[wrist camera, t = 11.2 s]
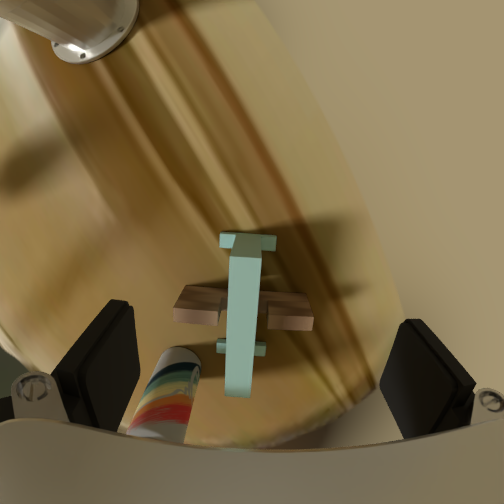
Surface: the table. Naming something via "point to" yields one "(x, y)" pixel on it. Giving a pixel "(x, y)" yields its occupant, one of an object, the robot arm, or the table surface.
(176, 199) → the table surface
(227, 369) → the teal notched bracket
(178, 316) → the brown u-shaped block
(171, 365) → the lotion bottle
